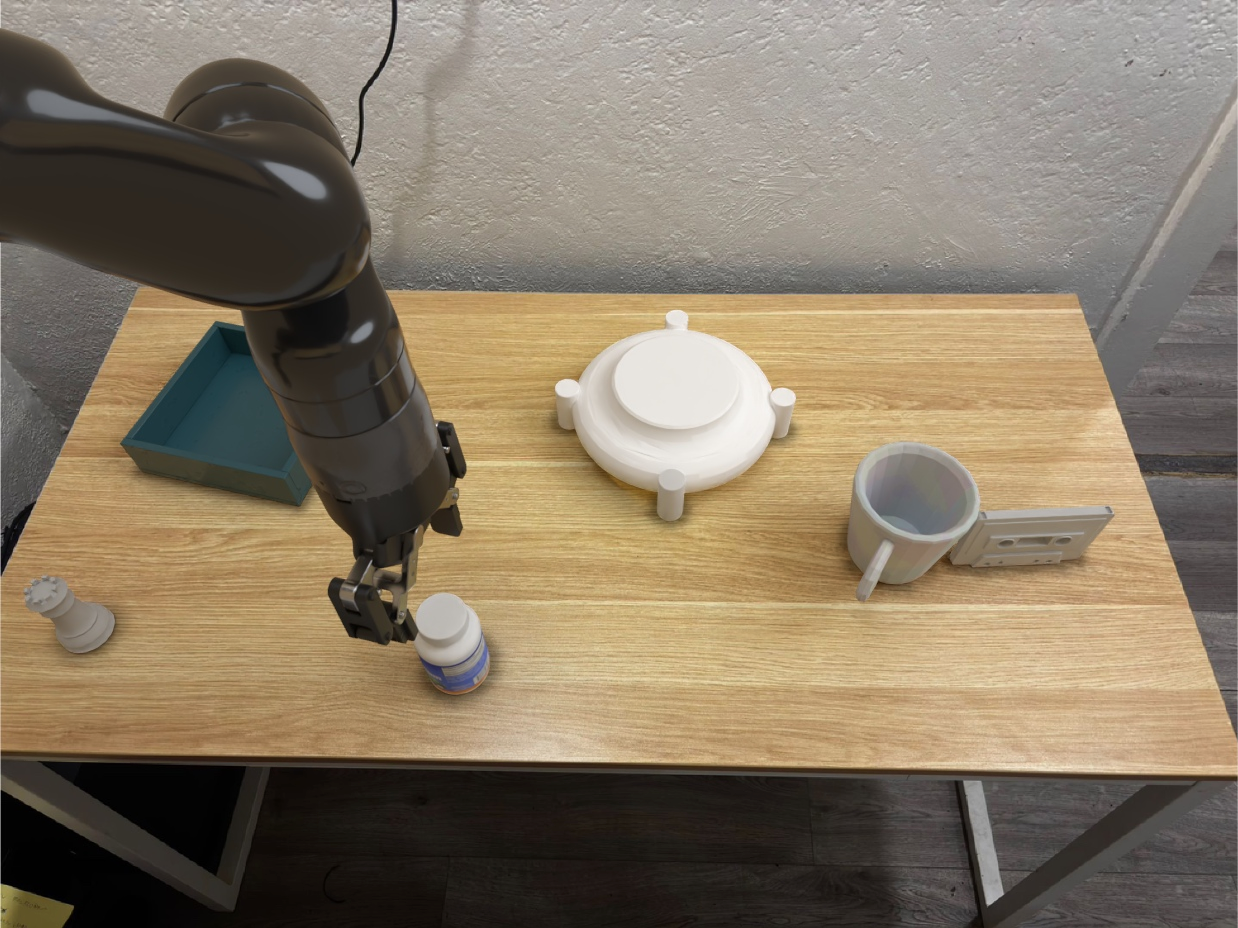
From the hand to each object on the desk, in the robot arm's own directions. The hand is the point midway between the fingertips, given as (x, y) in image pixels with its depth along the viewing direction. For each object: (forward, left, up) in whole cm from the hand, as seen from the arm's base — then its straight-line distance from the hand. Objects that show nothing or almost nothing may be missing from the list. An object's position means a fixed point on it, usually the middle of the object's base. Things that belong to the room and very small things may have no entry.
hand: (426, 580), depth 60 cm
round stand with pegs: (+30, -12, -15) cm, 36 cm away
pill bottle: (0, 0, -15) cm, 15 cm away
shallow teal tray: (+20, +30, -15) cm, 39 cm away
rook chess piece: (-5, +33, -15) cm, 37 cm away
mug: (+18, -34, -15) cm, 42 cm away
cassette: (+22, -46, -15) cm, 53 cm away
